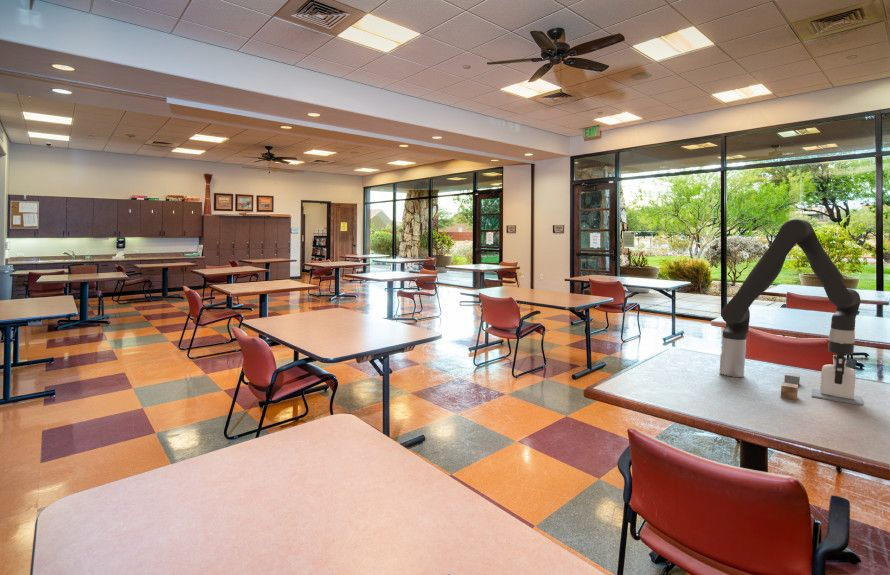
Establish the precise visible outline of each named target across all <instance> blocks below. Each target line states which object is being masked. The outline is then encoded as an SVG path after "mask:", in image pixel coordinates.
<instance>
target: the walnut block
mask: <svg viewBox="0 0 890 575" xmlns="http://www.w3.org/2000/svg"><path fill="white" fill-rule="evenodd" d="M798 391H799V386H798V385H796V384H790V383H784V381H783V382H782V383H781V388H780V398H781V399H786V400H793V401H797V400H798V393H799V392H798Z"/></svg>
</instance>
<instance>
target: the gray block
mask: <svg viewBox="0 0 890 575" xmlns="http://www.w3.org/2000/svg"><path fill="white" fill-rule="evenodd" d="M800 379H801V375H800V374H799V373H798V374H797V373H789V372H785V373H784V379H783V380H784V381H783V382H784V383H790V384H796V385H798V387H799V386H800V382H801V381H800Z"/></svg>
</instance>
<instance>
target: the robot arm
mask: <svg viewBox="0 0 890 575" xmlns="http://www.w3.org/2000/svg"><path fill="white" fill-rule="evenodd" d="M796 245H797V246H798V247H799V248H800V249H801V250H802V251H803V253H804V255H805V257H806V258H807V260H808V263H809V266H810V268H811V270H812V272H813V274H814V275H815V277H816V278H817V279H818V281H819V283H820V284H821V285H822V286H823V290H824V291H825V294H826V297H827V299H828V300H829V302H830V303H831V304H832V305H833V306H834V307H836V309H835V311H834V313H833V314H832V316H831V323H830V331H829V332H828V346H827V350H828V352H829V353H833V354H835V355H833V357H832V361H833V364H834V369H835V372H834V373H835V381H834V382H835V383H836V384H842V378H843V374H844V370H845V367H847V366H846V365H847V361H848V358H847V357H846V356H845V355H852V354H854V349H855V340H856V339H855V338H856V332H855V329H856V328H855V327H856V318H857V315H858V312H859V309H860V307H861V306H860V305H861V295H860V294H859V292H858V291H856V289H852V288H847V286H846V285H845V283H844V280H845V278H844V276H843V275H842V272H841V271H840V270H839V268H838V267H837V266H836V265H835V263H834V262H833V260H832V259H831V257H830V256H829V255H828V254H827V252H826V251H825V249H824V248H823V246H822V244H821V242H820V240H819V237H817V234H816V232H815V229H814V227H813V226H812V224H811V222H809V221H807V220H804V219H799V218H791V219H788V220H787V221H785V222H784V223H783V224H782V225H781V227H779V230H778V232H777V233H776V236H775V237H774V239H773V241H772V243H770V245H769V246H768V248H767V249H766V251H764V253H763V254H762V255H761V257H760V259H759V260H758V261H757V263H755V265H754V266H753V268H752V269H751V270H750V272H749V273H748V275H747V277H746V278H745V279H744V281H743V282H742V284H741V285H740V287H739V289H738V290H737V292H736V293H735V295H733V296H732V298H731V299H730V300H729V301H728V302H727V303H726V304H725V305H724V306H723V308H722V309H721V318H722V320H723V321H724V322H725V326H724V329H723V330H722V336H721V337H722V339H721V340H722V341H721V353H720V357H719V358H720V359H719V375H723V374H724V375H723V376H726V375H727V377H731V376H732V378H733V377H734V378H741V377H744V376H745V368H746V367H745V364H746V353H747V352H746V350H747V348H746V347H747V336H748V333H749V328H750V319H751V313H750V312H751V311H750V309H749V308H750V307H751V306H752V304H753V303H754V301H755V300H757V299H758V298H759V297H760V296H761V295H762V294H763V293H764V292H765V291H766V290H768V289H769V288H770V287H771V285H772V284H773V283H774V282H775V281H776V279H777V278H778V276H779V275H780V273H781V272H782V269H783V266H784V264H785V262H786V258H787V256H788V255H789V253H790V252H791V251H792V249H793V248H794V247H795V246H796ZM837 369H841V370H842V371H838V370H837Z"/></svg>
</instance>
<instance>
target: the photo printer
mask: <svg viewBox="0 0 890 575" xmlns="http://www.w3.org/2000/svg"><path fill="white" fill-rule="evenodd" d="M837 370H838V371H842V370H841V369H837ZM855 371H856V370H855V369H854V368H851V367H849V366H846V367H845V370H844V374H843V378H842V384H836V383H835V382H834V381H835V373H834V372H835V369H834V364H824V365H822V368H821V371H820V372H821V374H820V389H819V390H820V393H821V394H826V395H831V396H837V397H842V398H847V399H854V396H855V390H856V376H857V375H856V374H857V373H856V372H855Z"/></svg>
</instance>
